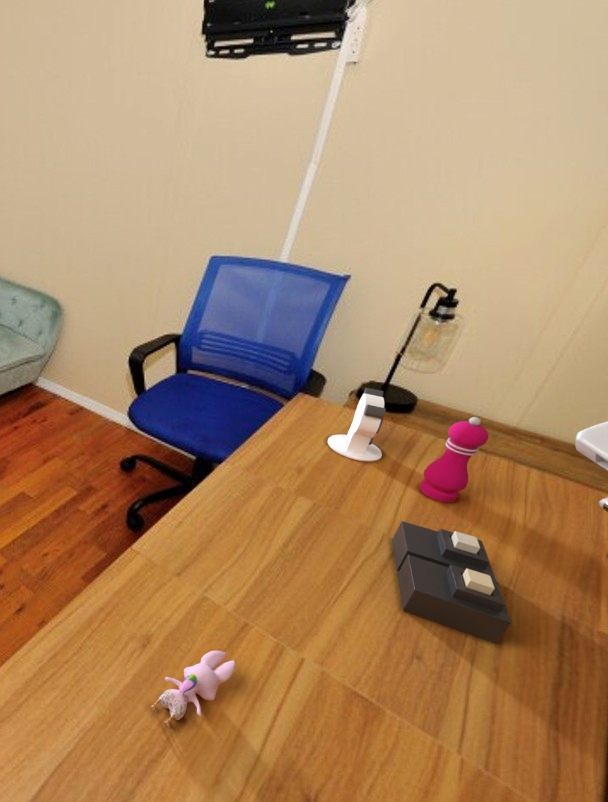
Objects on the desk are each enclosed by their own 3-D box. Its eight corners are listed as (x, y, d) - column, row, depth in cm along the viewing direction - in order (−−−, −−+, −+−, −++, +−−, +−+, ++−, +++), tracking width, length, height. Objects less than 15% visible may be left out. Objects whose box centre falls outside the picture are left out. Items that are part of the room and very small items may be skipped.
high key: (485, 583, 84) (490, 575, 83) (490, 596, 82) (495, 588, 81) (461, 575, 85) (466, 568, 84) (465, 588, 83) (470, 580, 82)
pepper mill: (419, 478, 118) (455, 405, 108) (460, 493, 113) (502, 417, 104) (414, 493, 113) (451, 417, 104) (456, 508, 109) (499, 431, 99)
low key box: (470, 564, 95) (487, 537, 92) (481, 599, 89) (500, 571, 85) (391, 540, 101) (405, 513, 98) (396, 570, 94) (411, 543, 91)
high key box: (483, 603, 88) (502, 575, 85) (496, 644, 81) (517, 615, 78) (397, 574, 94) (411, 547, 90) (402, 610, 87) (418, 582, 84)
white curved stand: (383, 468, 121) (407, 415, 114) (327, 453, 127) (346, 402, 120) (380, 443, 130) (402, 393, 123) (328, 431, 136) (346, 382, 129)
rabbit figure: (176, 743, 70) (247, 680, 76) (179, 723, 67) (253, 659, 72) (142, 703, 75) (211, 646, 80) (143, 683, 72) (215, 625, 77)
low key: (472, 544, 91) (476, 537, 90) (475, 555, 89) (480, 548, 88) (450, 537, 93) (454, 530, 92) (453, 548, 90) (458, 541, 90)
